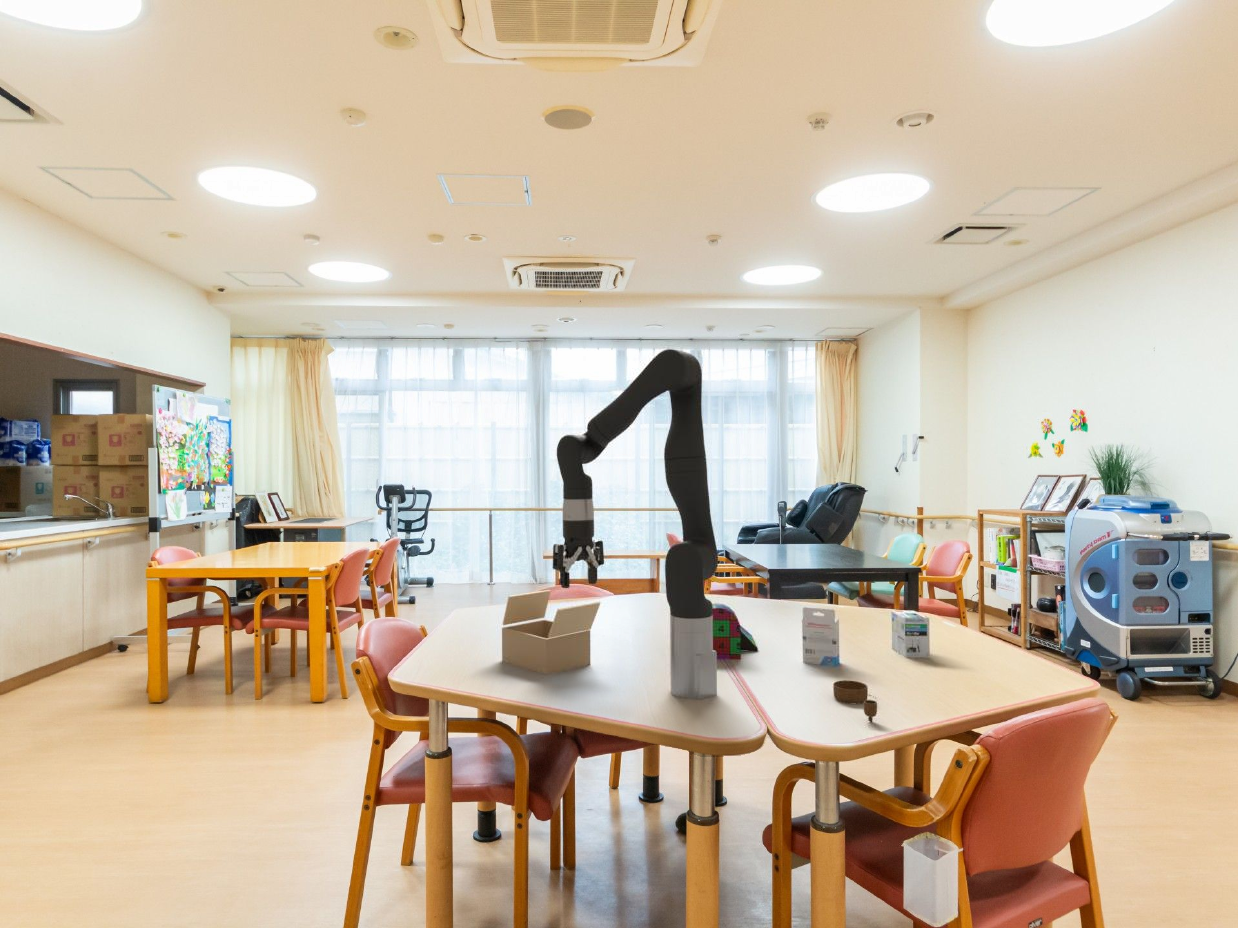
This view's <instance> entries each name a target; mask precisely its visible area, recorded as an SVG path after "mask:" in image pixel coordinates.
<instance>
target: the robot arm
mask: <svg viewBox="0 0 1238 928" xmlns="http://www.w3.org/2000/svg"><path fill="white" fill-rule="evenodd" d="M702 373H703V371H702V366H701V364H700V362H699V360H698V359H697V357H696V356H695V355H693V354H691V353H689V352H686V351H683V350H679V349H675V348H667V349H663V350H661V351H659V353H657V354H656V355H655V356H654V357H653V358H652V359H651V360H650V362H649V363H648V364H647V365H646V366H645V368H643V370H641V372H640V373H639V374H638V375H637V377H636V378H634V379H633V381H631V383H630V384H629V385H628V386H627V387H626V388H625V389H624V390H623V392H621V393H620V394H619V395H618V396H616V398H615V399H614V400H613V401H611V403H609V404H608V405H607V406H605V407H604V408H603V409H602V410H600V412H597V414H596V415H594V416H593V417H592V418H591V419H590V420H589V421H588V423H587V426H586V430H587V431H586V432H584V433H582V434H565V435H563V436H562V437H561V438H560V439H559V441H558V443H557V447H556V459H557V464H558V469H559V472H560V476H561V478H562V486H563V487H562V490H563V491H562V496H563V497H562V502H563V503H562V537H563V539H564V543H563V544H560V543H554V544H553V547H552V569H553V570H555V571H558V572H559V584H560V586H561V588H563V589H569V588H570V583H571V582H570V572H569V571H570V569H571V567H572V566H573V565H574V564H575V563H576V562H579V561H584V562H585V563H586V565H588V568H587V577H588V578H587V579H588V580H587V581H588V584H591V585H597V582H598V569H599V567H600V566H603V565H604V564H605V555H604V554H605V553H604V542H603V540H599V539H594V540H593V538H594V537H595V507H594V501H593V500H594V499H593V498H594V497H593V496H594V495H593V494H594V493H593V479H592V477H591V476H590V475H589V474H586V473H585V471H584V465H587V464H590V463H591V462H593V461H595V460H596V459H597V458H598V457H600V455H601V454H602V453H603V451H604V450H605V449H606V448H607V446H608V445H609V443H611V442H613V441H614V440H615V439H616V438H617V437H619V436H620V435H621V434H623V433H624V432H626V430H627V429H628V428H630V426H631V425H632V424H633V423H634V422H635V420H636V419H637V418H638V416H639V414H640V413H641V412H642V410H643V409H644V408H645V407H646V406H647V405H648V404H649V403H650V402H651V401H652V400H654V399H655V398H657V397H658V396H661V395H662V394H664V393H666V392H668V393H669V398H670V405H671V407H670V408H671V419H670V425H669V426H670V427H669V429H668V433H667V436H666V437H667V438H666V439H665V445H664V451H663V457H664V458H663V461H664V473H665V482H666V486H667V489H668V491H669V492H670V495H671V498H672V499H673V502H674V503H675V506H676V508H677V510H678V513H679V516H680V521H681V527H682V541H680V542H677V543H675V544H673V545H672V546H671V547H670V548H669V549H668V551H667V553H666V556H665V561H664V562H665V563H664V576H665V595H666V596H665V597H666V602H667V603H668V606H669V621H670V622H669V625H670V627H669V629H670V630H669V637H670V638H669V639H670V640H669V641H670V643H669V649H670V652H669V655H670V658H669V659H670V660H669V661H670V663H669V665H670V668H669V669H670V670H669V671H670V672H669V673H670V674H669V675H670V694H671V695H673V696H674V697H677V698H681V699H686V700H687V699H689V700H697V701H701V700H704V699H707V698H710V697H714V696H717V694H718V690H717V689H718V679H717V678H718V675H717V674H718V671H717V667H718V666H717V665H718V664H717V663H718V659H717V652H716V651H715V650H713V606H712V604H713V602H712V601H711V600H710V599H708V598H706V595H705V587H704V585H705V584H704V582H705V581H707V580H709V579H711V578H712V577H713V576H714V575H715V573H716V571H717V569H718V567H719V566H718V565H719V556H718V555H719V554H718V549H717V543H716V537H715V532H714V528H713V527H714V526H713V522H712V516H711V503H710V493H709V483H708V464H707V454H706V447H705V437H704V436H705V435H704V424H703V423H704V422H703V413H702V407H703V406H702V395H703V390H702V388H703V374H702Z"/></svg>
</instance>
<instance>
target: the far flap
mask: <svg viewBox="0 0 1238 928" xmlns="http://www.w3.org/2000/svg"><path fill="white" fill-rule="evenodd" d="M550 595H551V590H550V589H545V590H539V591H532V592H527V593H520V594H513V595H508V596H507V602H506V605H505V606H506V607H505V611H504V616H503V621H502V625H503V626H507V625H512V624H519V623H523V622H528V621H533V620H540V619H544V618H545V617H546V614H547V613H546V612H547V608H548V604H549V598H550V597H551V596H550Z"/></svg>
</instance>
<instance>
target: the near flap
mask: <svg viewBox="0 0 1238 928" xmlns="http://www.w3.org/2000/svg"><path fill="white" fill-rule="evenodd" d="M600 605H601V602H600V601H596V602H594V601H593V602H588V603H584V604H577V605H573V606H566V607H561V608H557V609H556V613H555V616H554V619H553V620H552V621H553V624H552V627H551V629H550V632H549V635H548V637H549V638H552V637H557V636H561V635H566V634H571V633H575V632H580V631H585V630H590V631H591V629H592V627H593V624H594V621H595V618H596V617H597V613H598V610H599V609H600Z"/></svg>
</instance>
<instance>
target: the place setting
mask: <svg viewBox="0 0 1238 928" xmlns="http://www.w3.org/2000/svg"><path fill="white" fill-rule="evenodd" d="M868 687H869V686H868V685H867V684H866V683H863V682H860V681H858V680H857V681H856V680H838V681H835V682H833V687H832V688H833V697H834V699H835V700H836V701H838V702H840V701H841V702H840V703H843V702H844V704H849V703H856V704H855V705H858V704H857V703H861V704H863V713H864V715H865V716H866V717H868V719H867V721H870V722H869V723H873V722H872V721H873V719H874V717H876V716H877V712H878V702H877V700H873V699H868V695H869V697H871V696H872V695H870V694H869V693H868V692H869V691H868V689H869V688H868ZM874 697H875V698H874V699H876V698H877V697H876V696H874Z"/></svg>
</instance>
